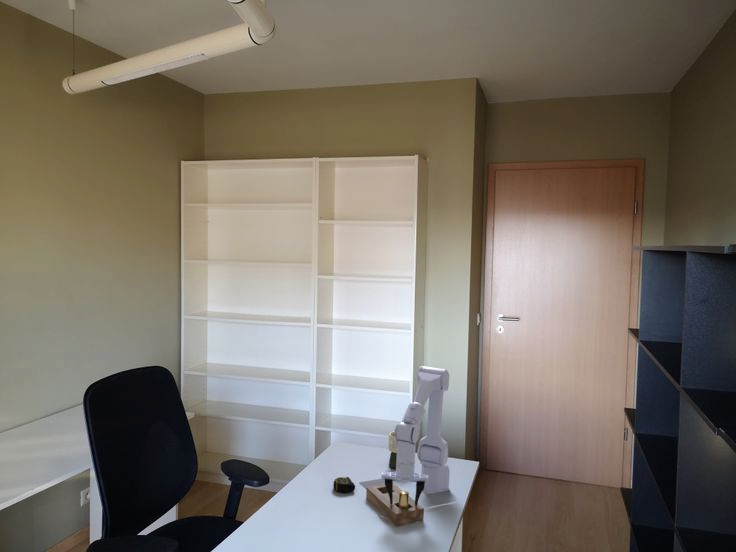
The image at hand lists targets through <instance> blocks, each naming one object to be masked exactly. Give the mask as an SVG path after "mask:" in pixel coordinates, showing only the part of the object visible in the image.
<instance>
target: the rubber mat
mask: <svg viewBox="0 0 736 552" xmlns="http://www.w3.org/2000/svg"><path fill="white" fill-rule="evenodd" d="M381 479H382V478H378V479H377V478H376V479H372V480H366V481H360V482H358V484H360V485H361V486H362V487H363V488H364V489H365V490H366V491H367V487H372V486H378V485H384V484H385V481H381Z"/></svg>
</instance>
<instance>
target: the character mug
mask: <svg viewBox="0 0 736 552" xmlns="http://www.w3.org/2000/svg"><path fill="white" fill-rule="evenodd" d="M394 433H395V430H393V431H390V432H389V434H388V451H389V452H390V455H389V456H390V457H389V459H388V466H389V467H390V468H392V469H394V470H396V461H397V446H396V440H395V436H394Z"/></svg>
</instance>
